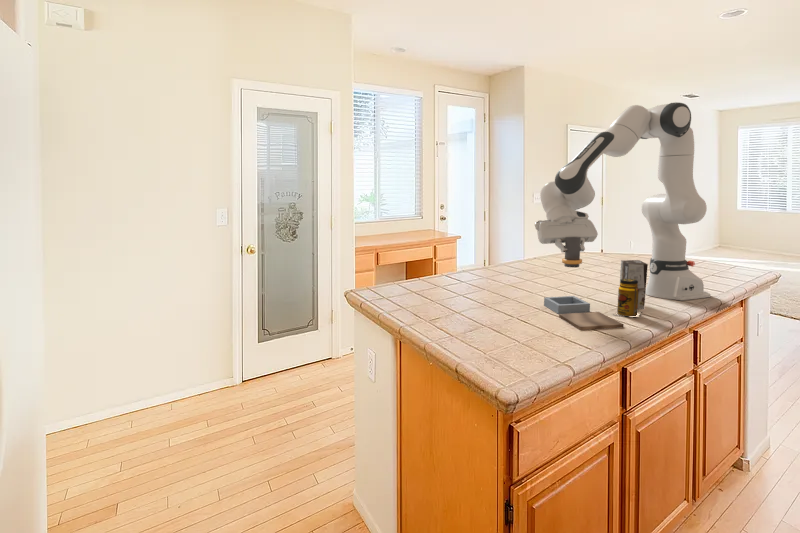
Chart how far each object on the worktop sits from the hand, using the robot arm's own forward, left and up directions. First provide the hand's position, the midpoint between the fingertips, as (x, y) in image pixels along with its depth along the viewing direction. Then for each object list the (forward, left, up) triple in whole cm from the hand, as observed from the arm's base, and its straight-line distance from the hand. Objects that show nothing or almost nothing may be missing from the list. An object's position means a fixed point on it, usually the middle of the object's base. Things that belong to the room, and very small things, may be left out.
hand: (573, 250), depth 150 cm
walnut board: (0, +12, -21) cm, 25 cm away
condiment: (-17, +6, -22) cm, 28 cm away
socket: (0, -4, -21) cm, 22 cm away
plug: (0, -1, -5) cm, 5 cm away
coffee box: (-24, -3, -22) cm, 33 cm away
